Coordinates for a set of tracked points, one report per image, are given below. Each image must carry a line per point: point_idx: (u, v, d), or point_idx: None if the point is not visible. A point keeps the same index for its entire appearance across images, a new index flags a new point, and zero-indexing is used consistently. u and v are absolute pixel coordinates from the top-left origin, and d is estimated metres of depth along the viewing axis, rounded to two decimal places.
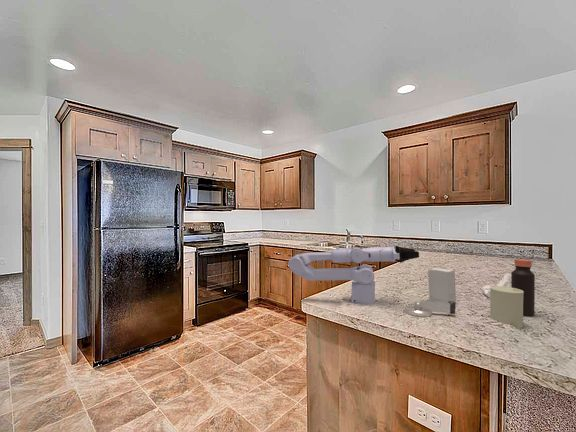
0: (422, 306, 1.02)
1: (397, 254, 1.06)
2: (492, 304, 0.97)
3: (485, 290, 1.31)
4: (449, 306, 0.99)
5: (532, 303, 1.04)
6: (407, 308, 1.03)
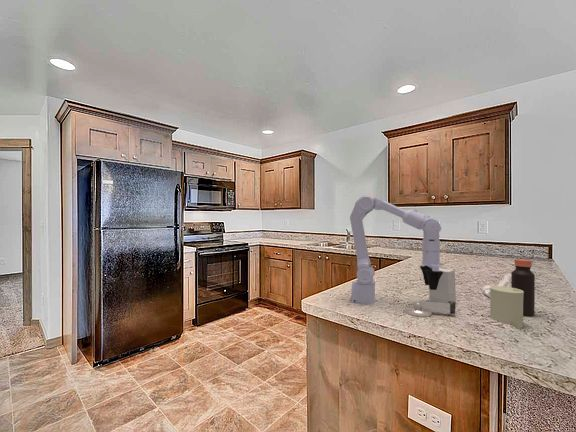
0: (422, 306, 1.02)
1: (437, 269, 1.00)
2: (492, 304, 0.97)
3: (485, 290, 1.30)
4: (449, 306, 0.99)
5: (532, 303, 1.04)
6: (407, 308, 1.03)
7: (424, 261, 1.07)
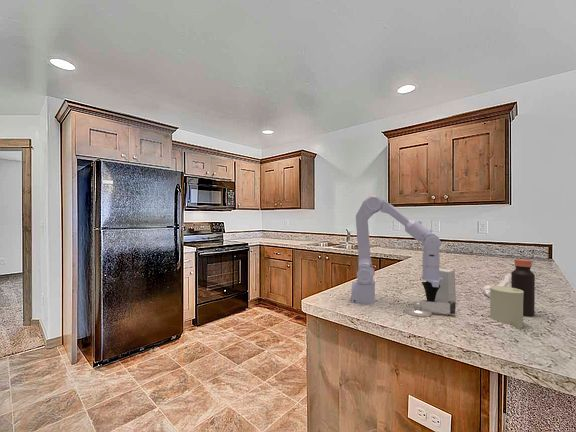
0: (422, 306, 1.02)
1: (437, 285, 1.00)
2: (492, 304, 0.97)
3: (486, 290, 1.30)
4: (449, 306, 0.99)
5: (532, 303, 1.04)
6: (407, 308, 1.03)
7: (424, 276, 1.07)
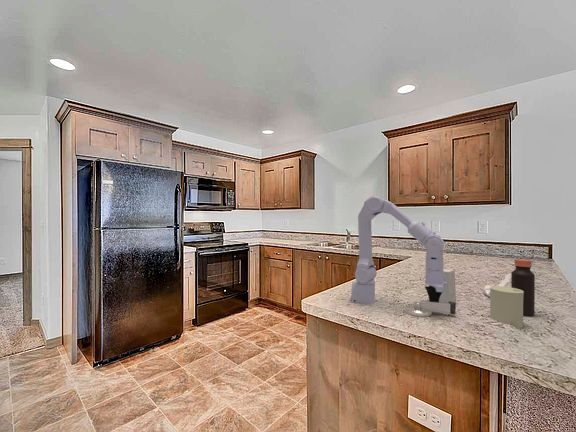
0: (422, 306, 1.02)
1: (441, 290, 0.95)
2: (492, 304, 0.97)
3: (486, 290, 1.30)
4: (449, 306, 0.99)
5: (532, 303, 1.04)
6: (407, 308, 1.04)
7: (427, 280, 1.02)
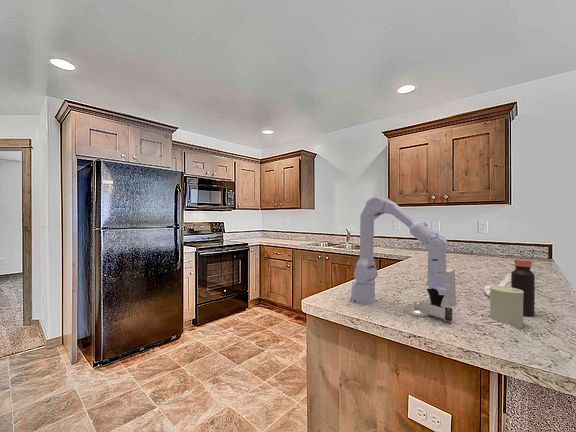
0: (420, 307, 1.01)
1: (444, 293, 0.92)
2: (492, 304, 0.97)
3: (487, 290, 1.30)
4: (444, 311, 0.94)
5: (532, 303, 1.04)
6: (409, 306, 1.06)
7: (429, 282, 0.98)
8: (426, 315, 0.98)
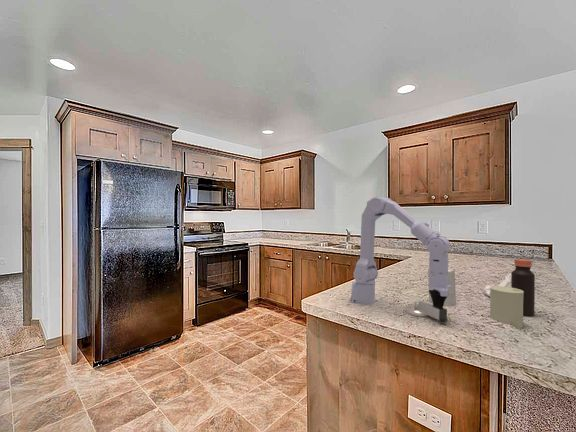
0: (419, 307, 1.01)
1: (446, 294, 0.90)
2: (492, 304, 0.97)
3: (487, 290, 1.30)
4: (438, 312, 0.93)
5: (532, 303, 1.04)
6: (410, 306, 1.06)
7: (431, 283, 0.96)
8: (423, 315, 0.98)
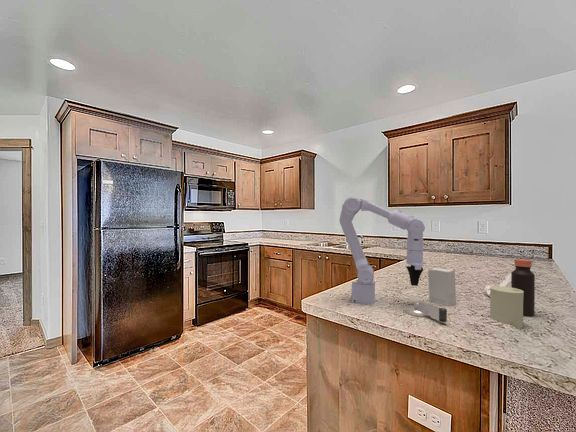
0: (419, 307, 1.01)
1: (420, 268, 1.03)
2: (492, 304, 0.97)
3: (487, 290, 1.30)
4: (438, 312, 0.93)
5: (532, 303, 1.04)
6: (410, 306, 1.06)
7: (408, 260, 1.10)
8: (423, 315, 0.98)
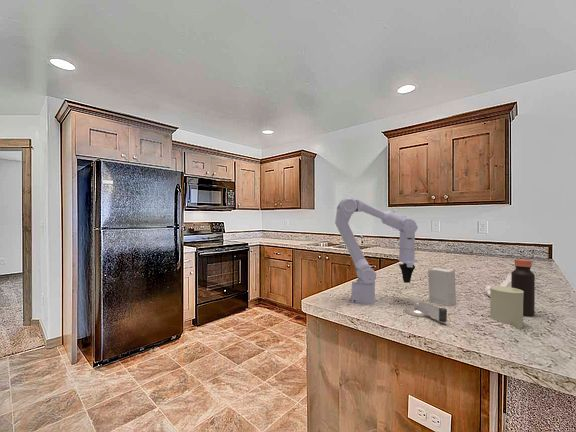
0: (419, 307, 1.01)
1: (411, 265, 1.08)
2: (492, 304, 0.97)
3: (488, 290, 1.30)
4: (438, 312, 0.93)
5: (532, 303, 1.04)
6: (410, 306, 1.06)
7: (400, 258, 1.14)
8: (423, 315, 0.98)
